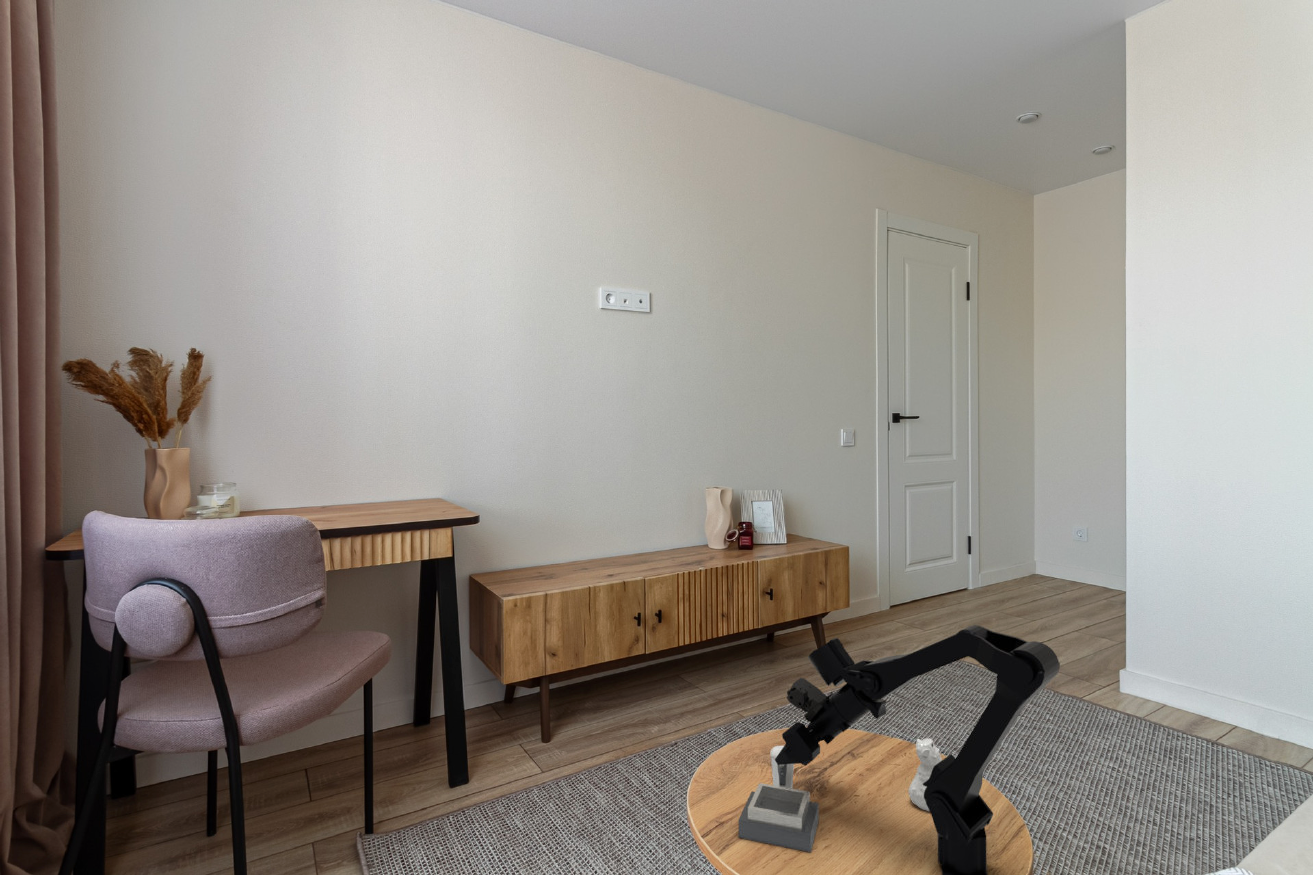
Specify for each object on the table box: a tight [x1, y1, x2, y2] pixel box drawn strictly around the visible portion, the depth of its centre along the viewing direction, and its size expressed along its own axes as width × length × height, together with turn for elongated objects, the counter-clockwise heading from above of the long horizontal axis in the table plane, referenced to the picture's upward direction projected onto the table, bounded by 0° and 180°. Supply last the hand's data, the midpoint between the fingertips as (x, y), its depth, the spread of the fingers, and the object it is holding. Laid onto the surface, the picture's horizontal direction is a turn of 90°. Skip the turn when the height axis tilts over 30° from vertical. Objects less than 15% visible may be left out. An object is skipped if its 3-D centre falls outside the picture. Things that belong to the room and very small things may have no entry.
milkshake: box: [769, 745, 795, 789], centre depth 129 cm, size 5×5×10 cm
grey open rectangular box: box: [738, 782, 820, 853], centre depth 119 cm, size 12×10×5 cm
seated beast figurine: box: [908, 737, 943, 812], centre depth 126 cm, size 10×9×12 cm
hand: (787, 752), depth 129 cm, fingers open, 9 cm apart
